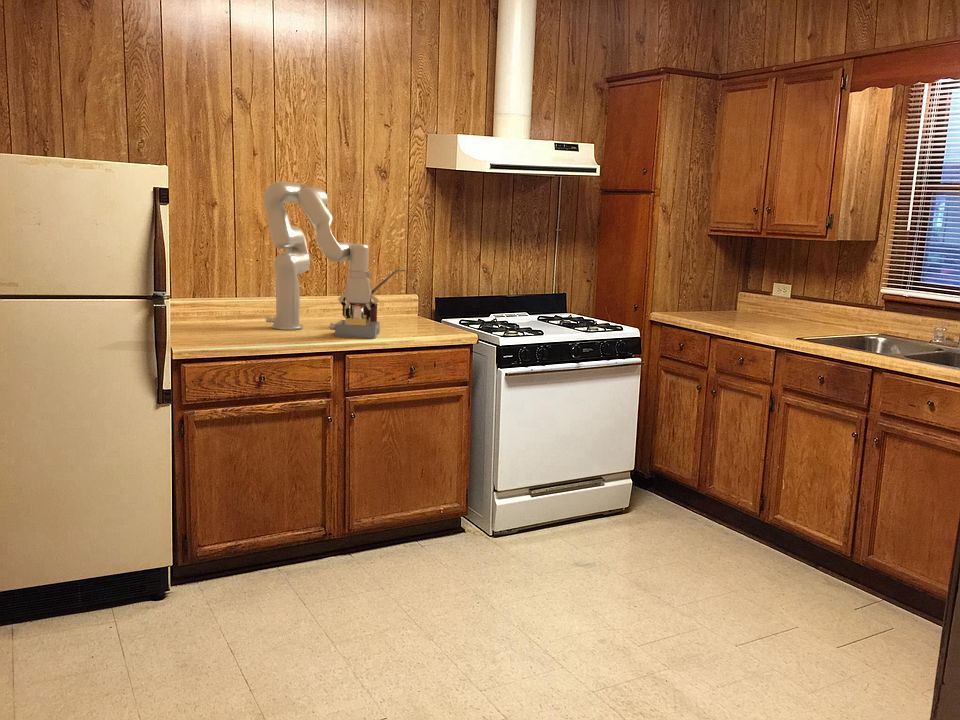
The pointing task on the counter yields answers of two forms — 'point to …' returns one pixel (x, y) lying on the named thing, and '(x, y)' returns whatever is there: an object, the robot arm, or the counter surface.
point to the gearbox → (356, 327)
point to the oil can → (374, 309)
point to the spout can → (358, 311)
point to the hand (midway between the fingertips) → (357, 318)
